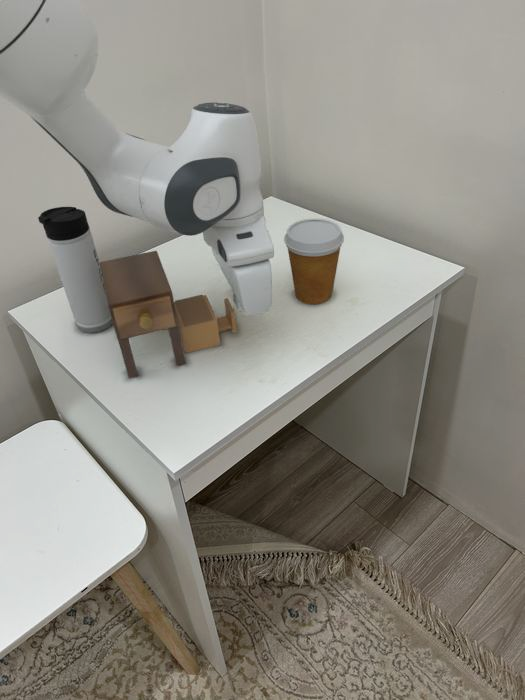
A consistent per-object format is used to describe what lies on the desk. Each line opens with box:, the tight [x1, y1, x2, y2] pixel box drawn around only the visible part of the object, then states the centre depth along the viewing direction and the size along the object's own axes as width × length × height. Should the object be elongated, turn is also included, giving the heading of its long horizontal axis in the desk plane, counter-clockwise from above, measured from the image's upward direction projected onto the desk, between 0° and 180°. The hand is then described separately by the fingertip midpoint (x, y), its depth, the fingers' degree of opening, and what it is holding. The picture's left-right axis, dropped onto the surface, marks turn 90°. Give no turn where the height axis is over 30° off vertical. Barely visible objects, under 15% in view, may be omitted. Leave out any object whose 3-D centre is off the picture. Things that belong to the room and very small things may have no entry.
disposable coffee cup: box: [283, 218, 345, 305], centre depth 90 cm, size 10×10×12 cm
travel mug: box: [37, 206, 113, 334], centre depth 84 cm, size 6×7×20 cm
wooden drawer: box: [174, 294, 237, 354], centre depth 85 cm, size 9×7×5 cm
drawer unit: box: [99, 250, 187, 379], centre depth 80 cm, size 8×14×13 cm, turn 18°
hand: (241, 305), depth 85 cm, fingers closed
